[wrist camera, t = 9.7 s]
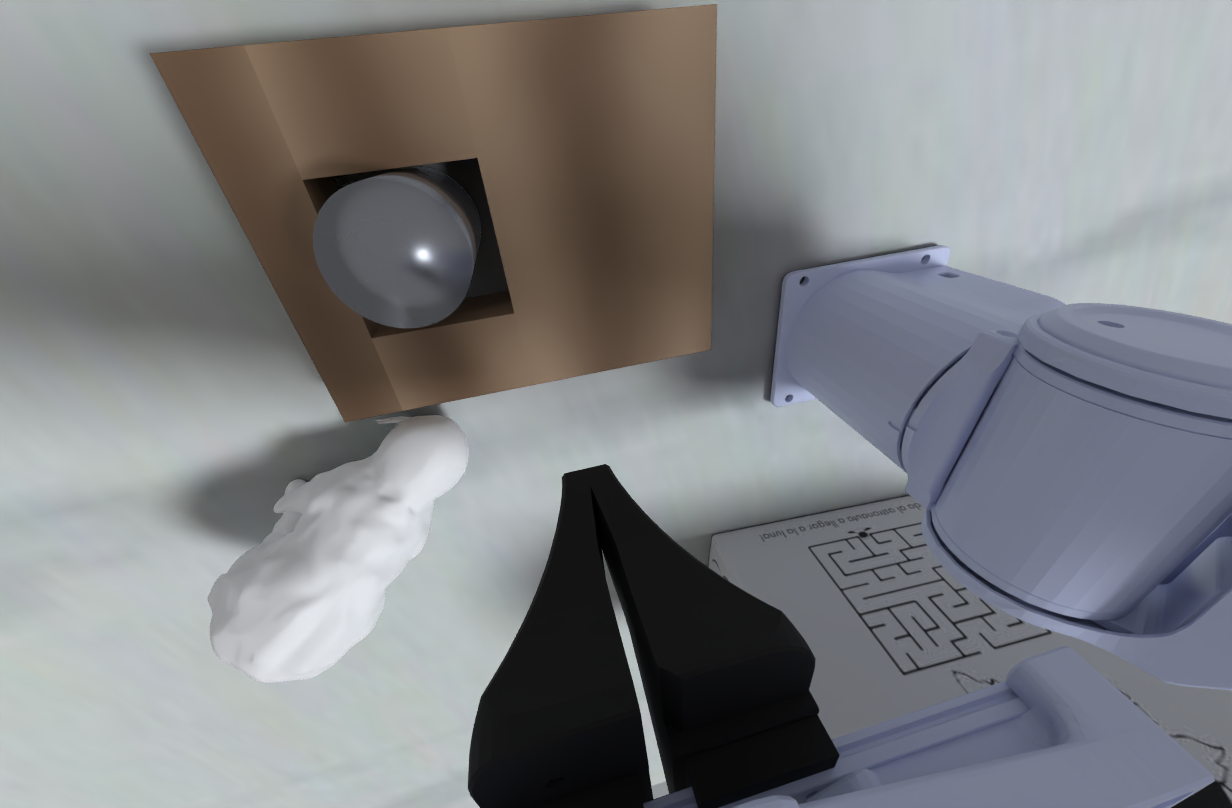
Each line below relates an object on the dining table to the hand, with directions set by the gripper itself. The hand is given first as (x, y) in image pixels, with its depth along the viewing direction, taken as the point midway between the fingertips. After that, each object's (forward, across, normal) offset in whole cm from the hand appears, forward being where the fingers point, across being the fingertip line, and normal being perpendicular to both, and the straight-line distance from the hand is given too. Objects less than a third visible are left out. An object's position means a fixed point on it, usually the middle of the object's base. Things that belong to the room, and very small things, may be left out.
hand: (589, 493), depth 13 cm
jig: (+10, +1, -6) cm, 12 cm away
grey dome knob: (+10, +4, -6) cm, 13 cm away
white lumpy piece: (+11, +10, +5) cm, 15 cm away
